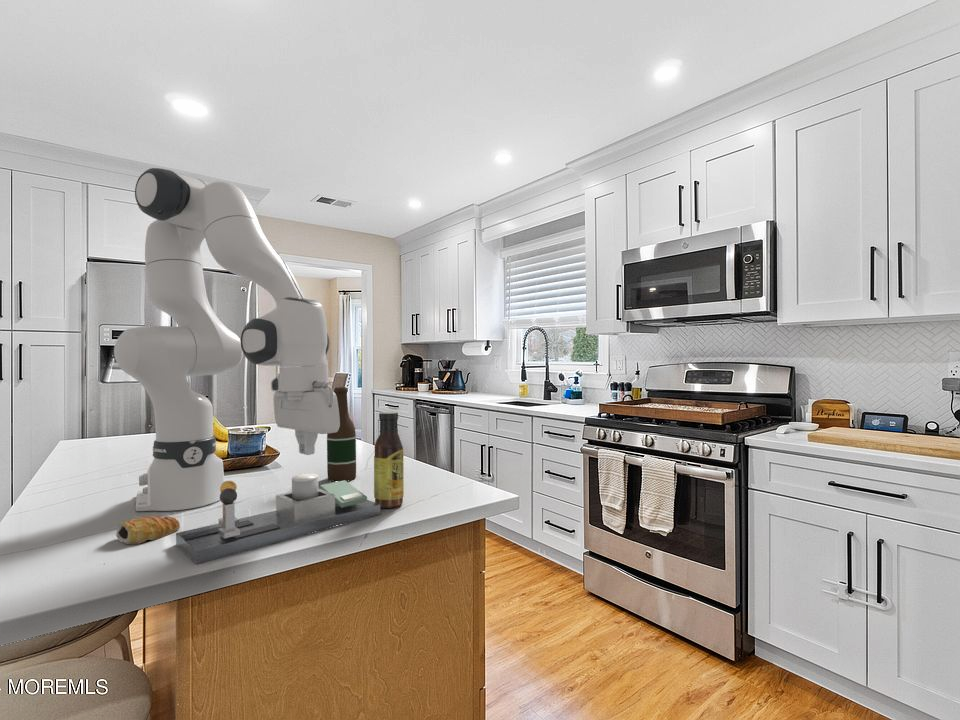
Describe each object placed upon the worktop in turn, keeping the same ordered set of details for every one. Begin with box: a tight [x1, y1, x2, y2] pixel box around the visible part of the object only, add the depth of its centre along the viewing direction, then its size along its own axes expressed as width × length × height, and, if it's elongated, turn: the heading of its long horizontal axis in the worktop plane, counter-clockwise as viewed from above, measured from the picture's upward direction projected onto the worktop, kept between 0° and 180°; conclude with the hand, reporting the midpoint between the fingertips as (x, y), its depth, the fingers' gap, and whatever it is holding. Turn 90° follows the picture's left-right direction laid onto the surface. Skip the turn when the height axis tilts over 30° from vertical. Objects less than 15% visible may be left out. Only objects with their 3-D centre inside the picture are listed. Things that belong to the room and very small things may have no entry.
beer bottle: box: [326, 386, 357, 482], centre depth 132 cm, size 8×8×24 cm
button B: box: [291, 473, 320, 501], centre depth 96 cm, size 5×5×4 cm
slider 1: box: [218, 480, 240, 526], centre depth 88 cm, size 3×3×8 cm
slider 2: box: [218, 488, 240, 538], centre depth 83 cm, size 3×3×8 cm
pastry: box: [115, 515, 181, 545], centre depth 91 cm, size 9×7×4 cm
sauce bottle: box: [373, 411, 405, 509], centre depth 108 cm, size 7×6×20 cm
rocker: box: [319, 480, 368, 508], centre depth 102 cm, size 9×6×1 cm, turn 45°
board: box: [175, 487, 381, 565], centre depth 93 cm, size 12×34×6 cm, turn 135°
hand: (306, 453), depth 96 cm, fingers closed
